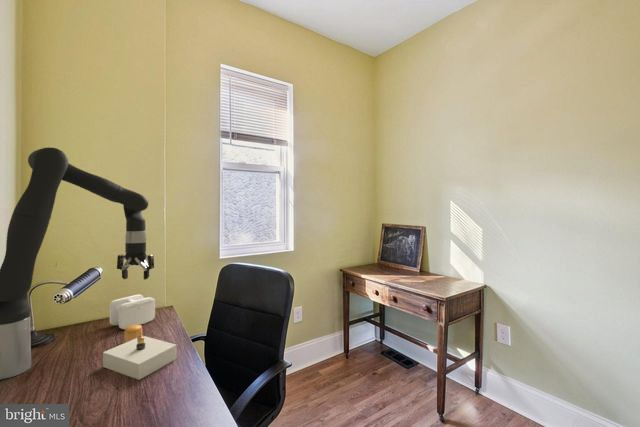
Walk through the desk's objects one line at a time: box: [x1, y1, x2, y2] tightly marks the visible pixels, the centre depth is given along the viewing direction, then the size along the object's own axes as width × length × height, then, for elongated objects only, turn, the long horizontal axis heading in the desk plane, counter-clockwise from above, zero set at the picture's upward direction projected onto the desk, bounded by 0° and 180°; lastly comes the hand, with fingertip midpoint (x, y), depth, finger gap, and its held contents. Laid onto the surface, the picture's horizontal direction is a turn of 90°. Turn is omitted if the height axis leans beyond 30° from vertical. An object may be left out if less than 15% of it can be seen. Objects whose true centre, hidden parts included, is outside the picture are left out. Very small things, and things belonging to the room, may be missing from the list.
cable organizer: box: [108, 294, 156, 330], centre depth 136 cm, size 15×11×12 cm
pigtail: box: [136, 335, 145, 350], centre depth 102 cm, size 3×3×4 cm
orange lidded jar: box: [124, 324, 143, 343], centre depth 118 cm, size 6×6×6 cm
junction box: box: [102, 335, 178, 381], centre depth 103 cm, size 14×18×5 cm
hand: (135, 279), depth 127 cm, fingers open, 8 cm apart
